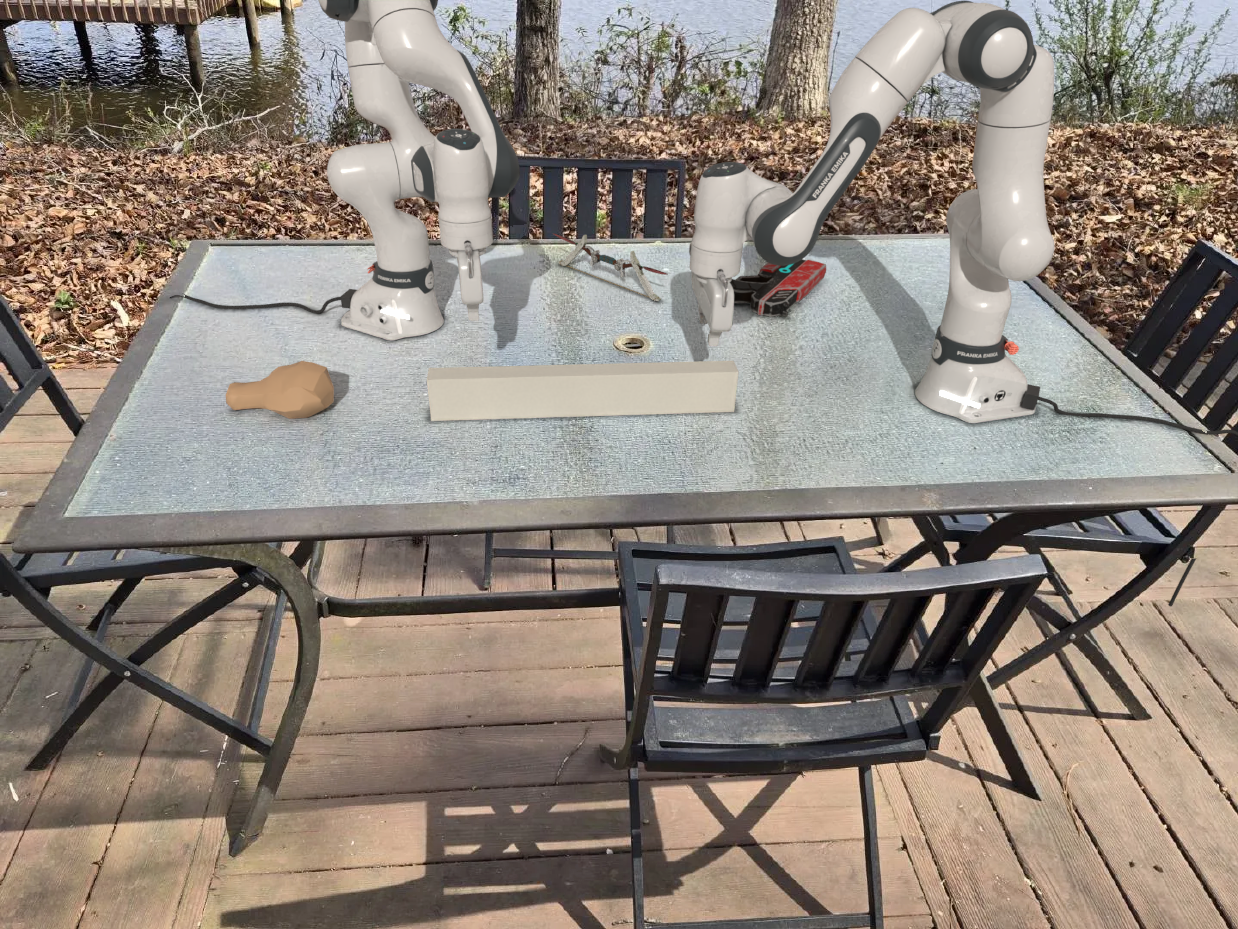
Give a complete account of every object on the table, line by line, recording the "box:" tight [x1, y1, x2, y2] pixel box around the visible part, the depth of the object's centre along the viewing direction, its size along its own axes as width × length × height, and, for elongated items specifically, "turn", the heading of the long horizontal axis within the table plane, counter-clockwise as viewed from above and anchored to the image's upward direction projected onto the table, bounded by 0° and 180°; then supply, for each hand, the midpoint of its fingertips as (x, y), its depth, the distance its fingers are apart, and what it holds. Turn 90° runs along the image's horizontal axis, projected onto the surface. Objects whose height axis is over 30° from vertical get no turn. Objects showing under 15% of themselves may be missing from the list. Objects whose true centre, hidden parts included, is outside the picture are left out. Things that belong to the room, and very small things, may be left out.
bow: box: [552, 233, 669, 302], centre depth 216 cm, size 39×2×10 cm, turn 47°
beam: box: [426, 360, 740, 422], centre depth 163 cm, size 57×5×9 cm, turn 96°
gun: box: [730, 258, 827, 318], centre depth 215 cm, size 4×31×19 cm
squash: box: [225, 360, 335, 420], centre depth 161 cm, size 11×20×9 cm, turn 90°
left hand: (472, 309), depth 156 cm, fingers open, 8 cm apart
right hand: (707, 333), depth 159 cm, fingers open, 8 cm apart
